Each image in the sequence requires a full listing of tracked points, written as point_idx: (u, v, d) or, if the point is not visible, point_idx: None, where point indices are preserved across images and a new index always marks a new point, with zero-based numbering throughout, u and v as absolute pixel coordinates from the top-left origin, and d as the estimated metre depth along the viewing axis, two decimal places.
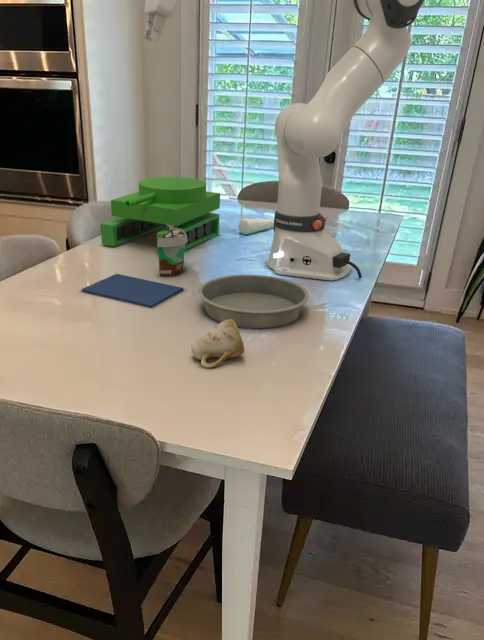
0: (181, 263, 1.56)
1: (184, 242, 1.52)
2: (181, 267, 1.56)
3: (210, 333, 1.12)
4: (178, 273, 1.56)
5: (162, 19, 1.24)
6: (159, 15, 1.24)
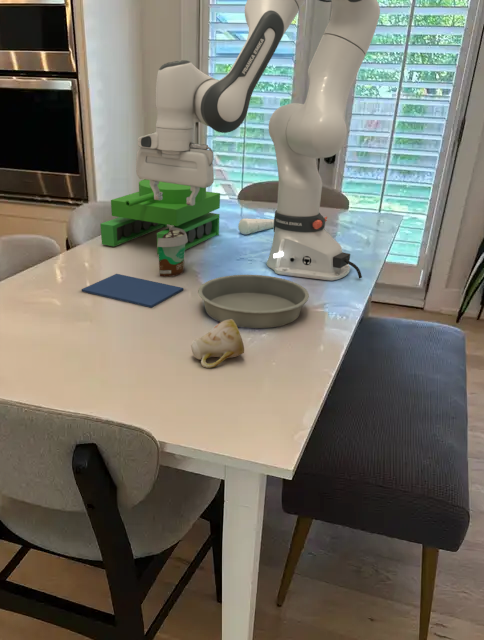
0: (181, 263, 1.56)
1: (184, 242, 1.52)
2: (181, 267, 1.56)
3: (210, 333, 1.12)
4: (178, 273, 1.56)
5: (198, 188, 1.45)
6: (196, 187, 1.44)
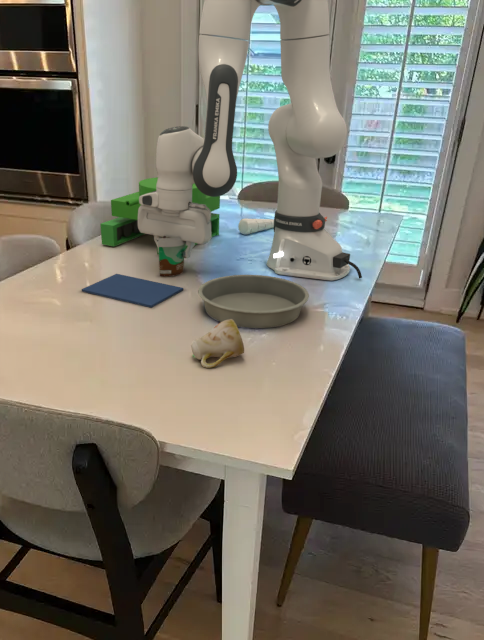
0: (181, 263, 1.56)
1: (184, 242, 1.52)
2: (181, 267, 1.56)
3: (210, 333, 1.12)
4: (178, 273, 1.56)
5: (193, 243, 1.52)
6: (192, 242, 1.51)
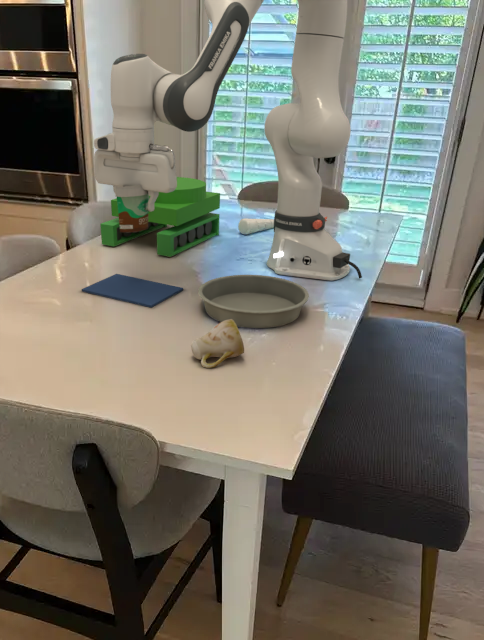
0: (144, 217, 1.37)
1: (147, 192, 1.33)
2: (145, 222, 1.38)
3: (210, 333, 1.12)
4: (141, 229, 1.37)
5: (157, 193, 1.33)
6: (155, 191, 1.33)
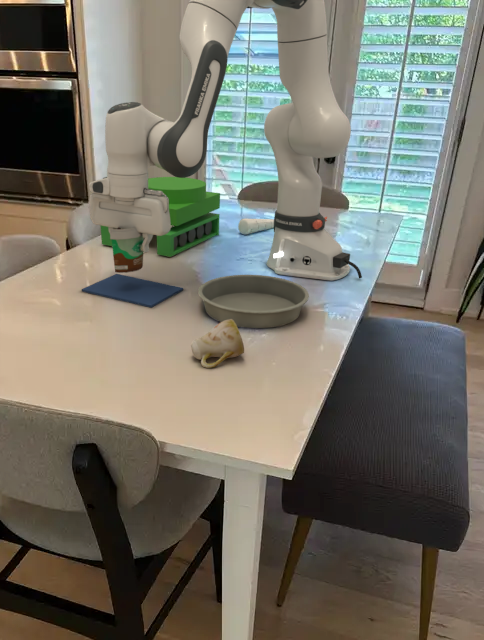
0: (139, 257, 1.39)
1: (141, 234, 1.36)
2: (139, 262, 1.40)
3: (210, 333, 1.12)
4: (136, 269, 1.40)
5: (151, 234, 1.36)
6: (149, 233, 1.35)
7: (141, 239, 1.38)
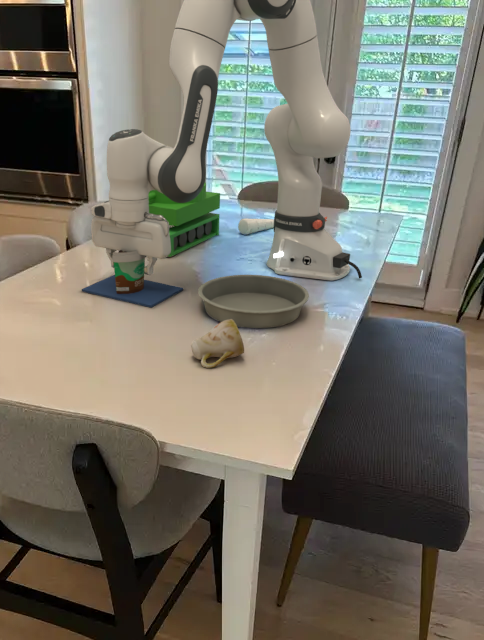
0: (140, 279, 1.42)
1: (142, 257, 1.39)
2: (140, 284, 1.43)
3: (210, 333, 1.12)
4: (137, 290, 1.43)
5: (155, 258, 1.38)
6: (153, 257, 1.38)
7: (142, 261, 1.41)
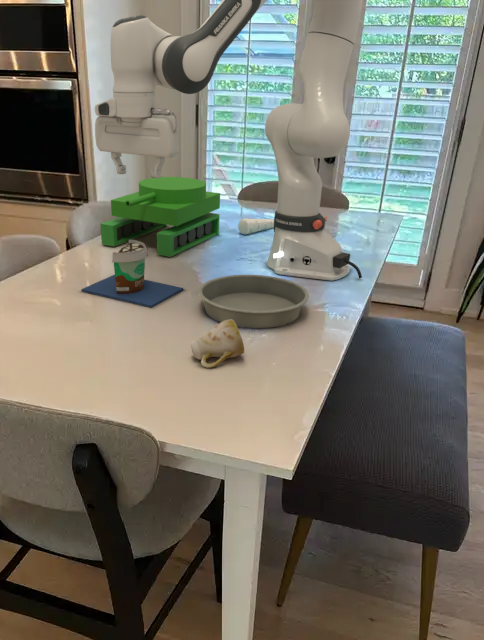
0: (140, 279, 1.42)
1: (143, 257, 1.39)
2: (140, 284, 1.43)
3: (210, 333, 1.12)
4: (137, 290, 1.43)
5: (163, 159, 1.32)
6: (161, 157, 1.31)
7: (142, 261, 1.41)
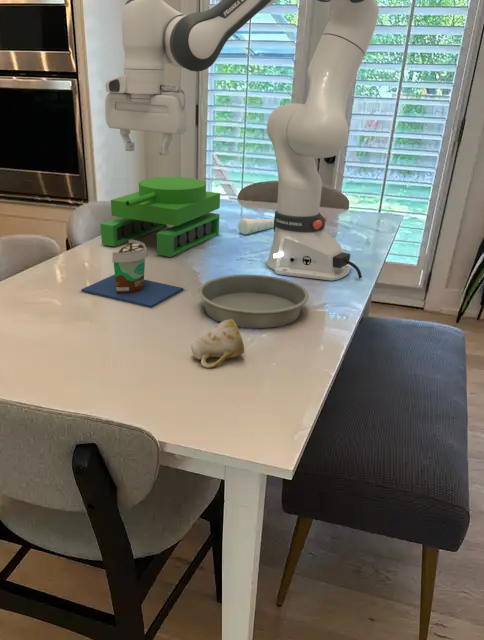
0: (140, 279, 1.42)
1: (143, 257, 1.39)
2: (140, 284, 1.43)
3: (210, 333, 1.12)
4: (137, 290, 1.43)
5: (171, 136, 1.36)
6: (169, 134, 1.35)
7: (142, 261, 1.41)
